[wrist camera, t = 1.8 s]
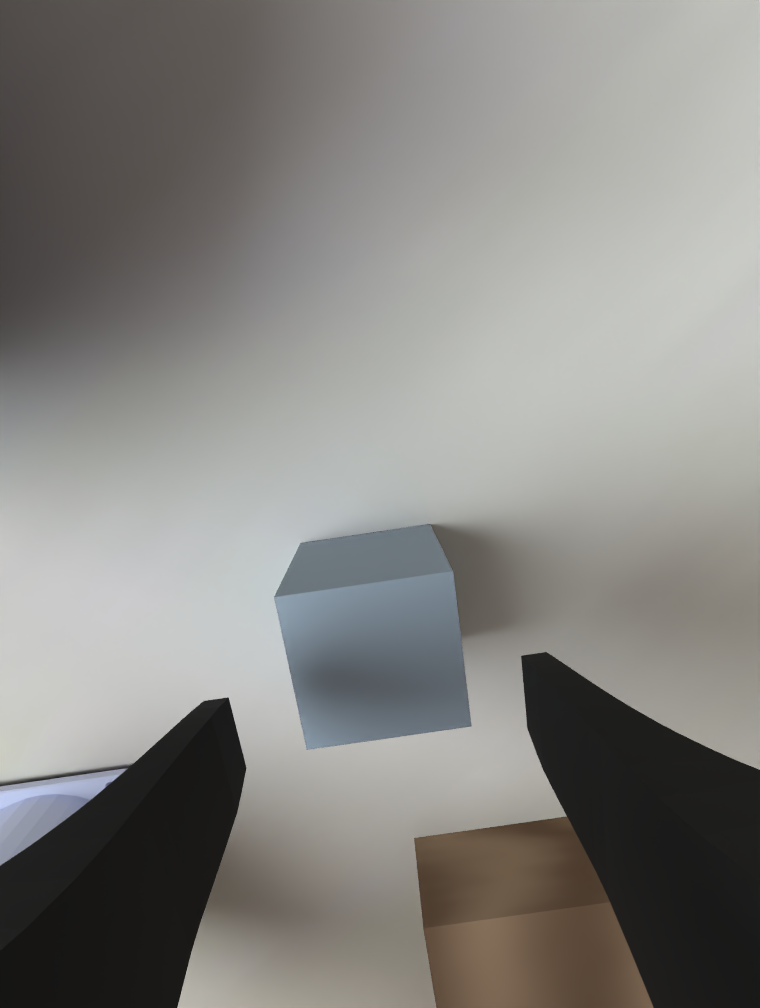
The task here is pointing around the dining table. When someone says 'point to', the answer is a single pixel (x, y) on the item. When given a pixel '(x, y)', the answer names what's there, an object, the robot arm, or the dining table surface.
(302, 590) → the slate cube
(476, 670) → the dining table surface
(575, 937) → the walnut base block
